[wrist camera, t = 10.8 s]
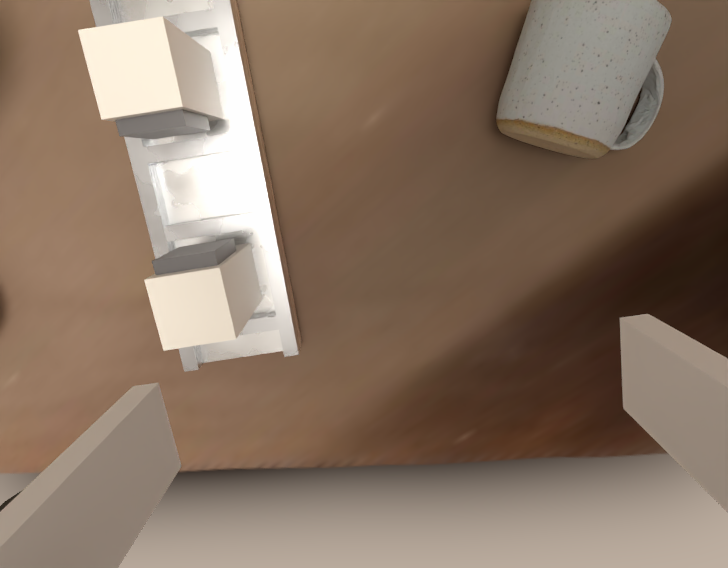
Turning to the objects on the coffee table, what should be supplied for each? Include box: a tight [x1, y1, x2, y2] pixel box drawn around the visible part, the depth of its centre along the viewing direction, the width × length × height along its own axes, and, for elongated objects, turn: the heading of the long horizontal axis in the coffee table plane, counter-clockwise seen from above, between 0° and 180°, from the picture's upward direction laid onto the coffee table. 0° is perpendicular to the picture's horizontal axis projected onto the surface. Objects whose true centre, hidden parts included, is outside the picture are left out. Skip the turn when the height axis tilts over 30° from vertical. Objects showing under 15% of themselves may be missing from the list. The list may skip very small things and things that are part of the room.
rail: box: [90, 0, 302, 372], centre depth 33 cm, size 8×24×2 cm, turn 9°
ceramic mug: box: [496, 0, 672, 159], centre depth 30 cm, size 11×8×8 cm
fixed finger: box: [78, 16, 224, 139], centre depth 28 cm, size 4×5×8 cm
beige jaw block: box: [144, 238, 262, 351], centre depth 31 cm, size 4×5×8 cm
